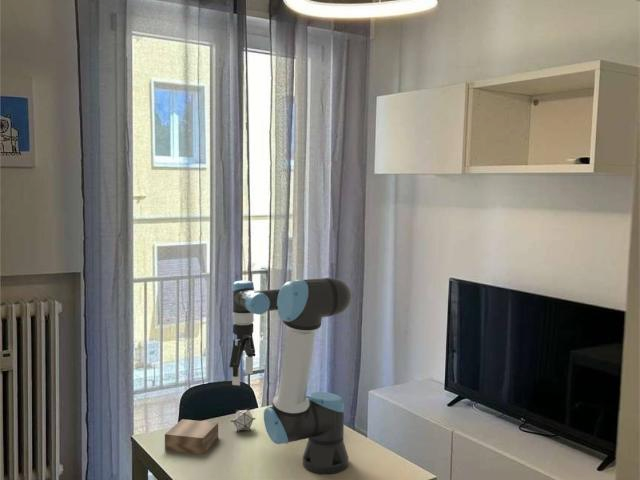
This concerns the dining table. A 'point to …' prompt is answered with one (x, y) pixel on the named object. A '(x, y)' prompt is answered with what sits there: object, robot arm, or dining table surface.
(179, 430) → the walnut block
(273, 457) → the dining table surface
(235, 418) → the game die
